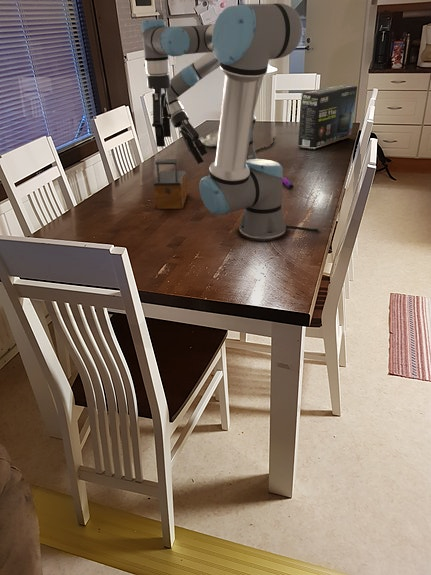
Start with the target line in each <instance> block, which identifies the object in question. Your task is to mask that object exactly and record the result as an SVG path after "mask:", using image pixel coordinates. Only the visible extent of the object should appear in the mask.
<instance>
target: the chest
mask: <svg viewBox="0 0 431 575" xmlns="http://www.w3.org/2000/svg"><path fill="white" fill-rule="evenodd" d="M187 192H188V191H187V177H186V174H185V175H184V177H183V180H182V182H181V185H178V186H154V194H155V203H156V209H157V210H171V209H172V210H176V209H177V210H178V209H180V210H181V209H183V208H184V205H185V203H186V200H187V197H188V193H187Z"/></svg>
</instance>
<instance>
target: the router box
mask: <svg viewBox="0 0 431 575" xmlns="http://www.w3.org/2000/svg"><path fill="white" fill-rule="evenodd" d="M357 93H358V86H356V85H350V84H339V85H338V84H337V85H334V86H328V87H324V88H318V89H314V90H309V91H304V92H301V93H300V109H299V110H300V111H299V124H298V137H297V146H298V145H302V146H307V147H317V146H320V145H323V144H325V143H328V142H331V141H333V140H336V139H338V138H341V137H344V136H347V135H351V136H352V133H353V132H352V131H353V125H354V115H355V109H356V99H357ZM311 151H313V150H312V149H311Z"/></svg>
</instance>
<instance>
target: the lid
mask: <svg viewBox="0 0 431 575" xmlns="http://www.w3.org/2000/svg"><path fill="white" fill-rule="evenodd" d="M154 163H155V168H156V173H157V174H156V175H157V177H156V179H155V180H154V182H153V186H154V187H155V186H178V185H181V182H182V180H183V177H184V175H185V176H186V170H178V166H177V164H178V160H177V158H156V159H155V160H154ZM161 165H162V166H163V165H174V166H173V167H174V170H160V166H161Z"/></svg>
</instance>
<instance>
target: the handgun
mask: <svg viewBox="0 0 431 575" xmlns="http://www.w3.org/2000/svg"><path fill="white" fill-rule="evenodd" d="M283 184H284V185H285V186H286V187H288V189H289V190H293V189H294V184H292V183H291V182H290V180H288V179H287V178H286V177H284V176H283Z"/></svg>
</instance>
